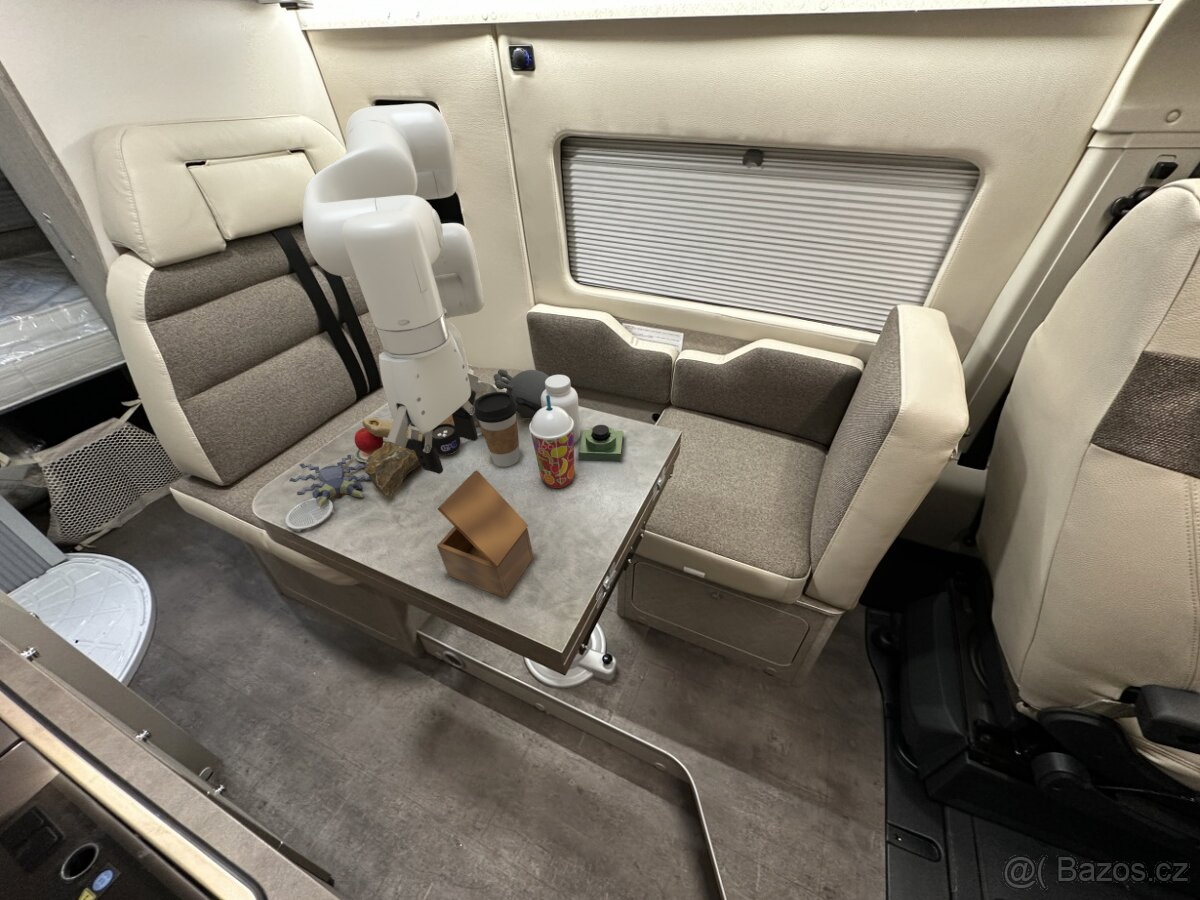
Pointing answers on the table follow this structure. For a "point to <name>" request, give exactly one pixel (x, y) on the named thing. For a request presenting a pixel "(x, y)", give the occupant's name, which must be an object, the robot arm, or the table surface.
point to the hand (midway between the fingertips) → (451, 452)
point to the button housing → (601, 446)
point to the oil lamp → (381, 427)
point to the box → (485, 563)
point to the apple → (367, 444)
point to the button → (600, 432)
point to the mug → (446, 439)
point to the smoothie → (553, 444)
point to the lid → (484, 518)
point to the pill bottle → (563, 399)
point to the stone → (480, 391)
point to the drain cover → (309, 514)
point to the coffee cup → (499, 426)
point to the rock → (390, 466)
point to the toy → (332, 481)
